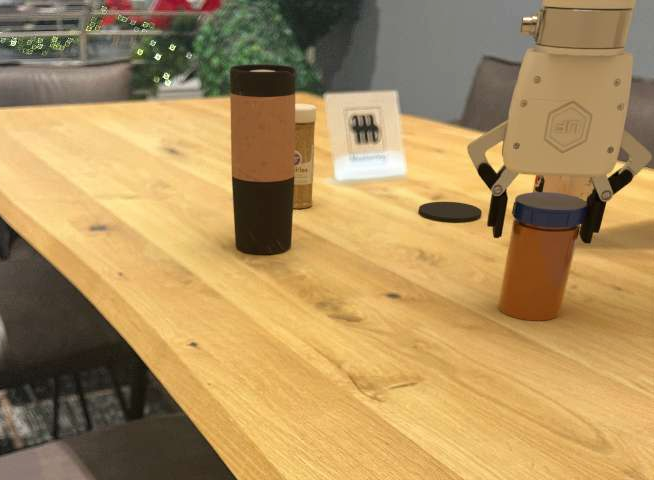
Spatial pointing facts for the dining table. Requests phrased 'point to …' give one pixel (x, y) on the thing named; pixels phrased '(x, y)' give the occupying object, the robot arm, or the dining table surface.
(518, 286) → the jar
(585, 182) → the teacup with lid
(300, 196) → the sprinkles bottle
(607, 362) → the dining table surface
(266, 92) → the travel mug
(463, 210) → the coaster
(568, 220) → the lid
